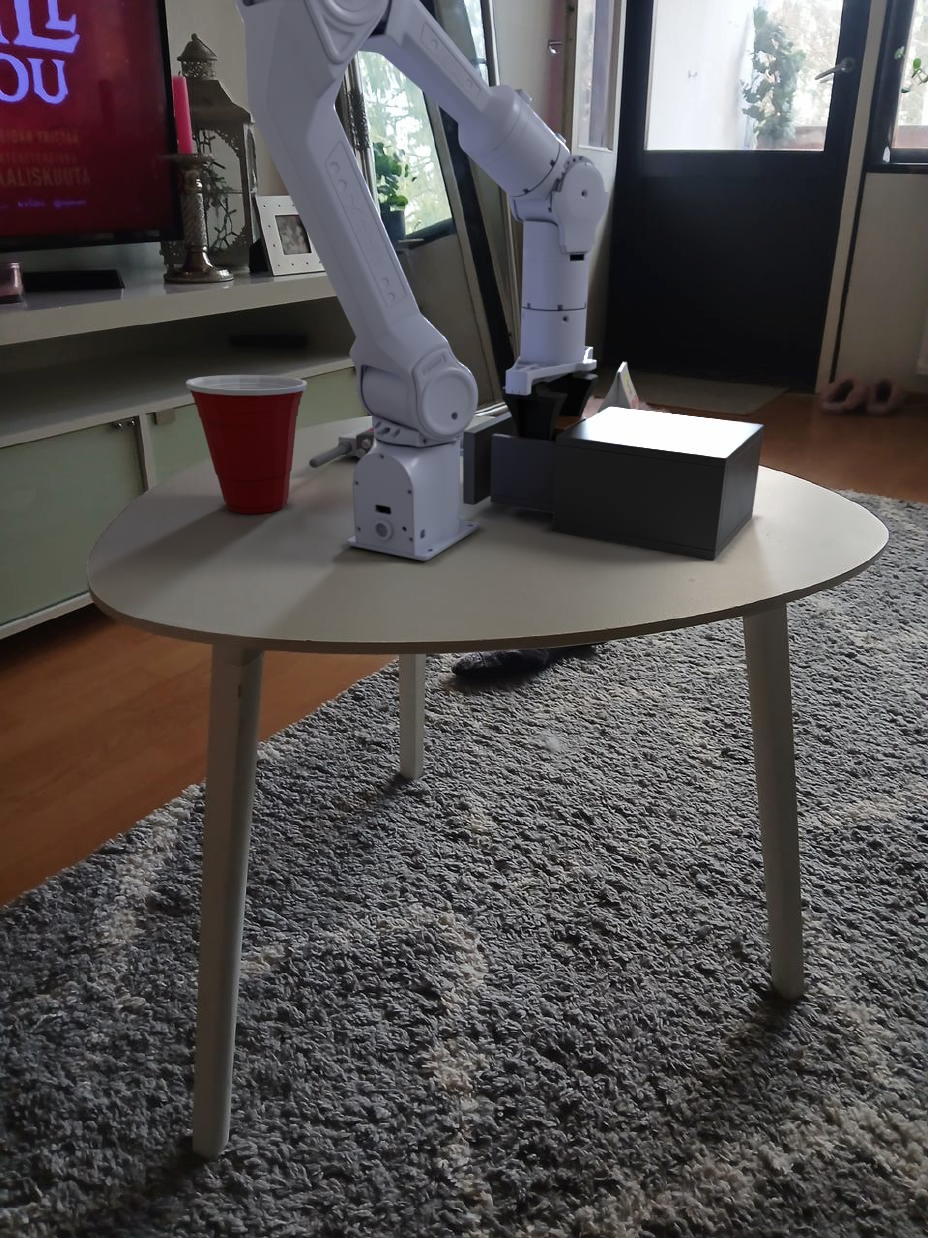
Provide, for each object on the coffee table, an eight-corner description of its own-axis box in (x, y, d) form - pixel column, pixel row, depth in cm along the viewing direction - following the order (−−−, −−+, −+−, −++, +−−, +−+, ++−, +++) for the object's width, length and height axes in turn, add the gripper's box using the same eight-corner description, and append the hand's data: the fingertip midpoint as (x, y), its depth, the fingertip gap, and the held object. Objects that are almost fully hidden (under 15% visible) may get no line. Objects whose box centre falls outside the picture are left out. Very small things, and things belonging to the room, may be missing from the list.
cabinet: (551, 531, 86) (555, 435, 82) (604, 493, 96) (609, 406, 92) (714, 560, 79) (726, 458, 76) (752, 516, 89) (764, 424, 86)
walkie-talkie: (386, 432, 118) (303, 476, 101) (385, 396, 116) (300, 434, 99) (452, 439, 115) (379, 485, 98) (452, 401, 113) (377, 442, 96)
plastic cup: (336, 495, 95) (329, 371, 90) (273, 529, 86) (262, 393, 81) (245, 482, 99) (233, 363, 94) (176, 513, 90) (159, 383, 85)
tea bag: (594, 465, 105) (600, 371, 101) (602, 449, 111) (607, 360, 107) (628, 467, 104) (635, 373, 100) (634, 451, 110) (641, 362, 106)
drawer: (424, 496, 92) (423, 425, 89) (480, 467, 101) (481, 402, 98) (598, 527, 84) (603, 450, 81) (642, 492, 93) (648, 422, 90)
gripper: (562, 319, 77) (555, 484, 83) (626, 300, 89) (616, 446, 94) (484, 314, 80) (483, 473, 86) (555, 295, 92) (550, 437, 97)
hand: (548, 458), depth 90 cm, fingers closed on block, 5 cm apart
